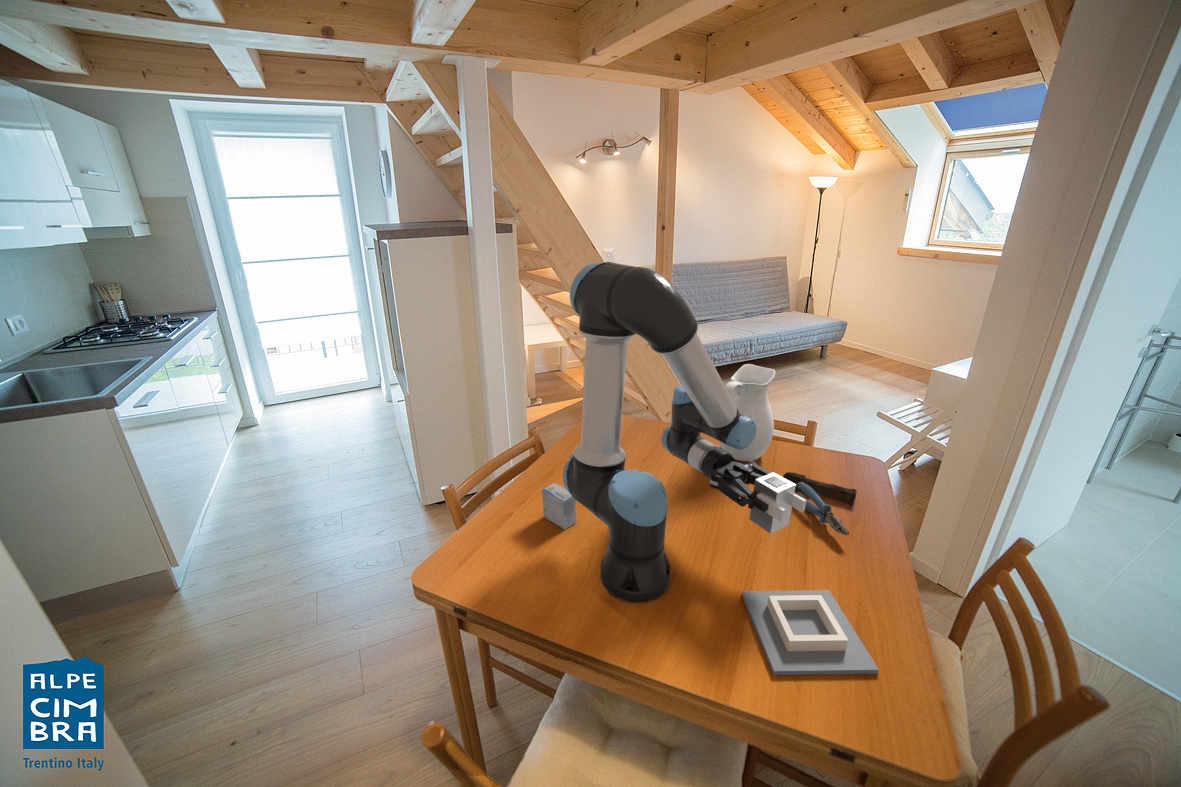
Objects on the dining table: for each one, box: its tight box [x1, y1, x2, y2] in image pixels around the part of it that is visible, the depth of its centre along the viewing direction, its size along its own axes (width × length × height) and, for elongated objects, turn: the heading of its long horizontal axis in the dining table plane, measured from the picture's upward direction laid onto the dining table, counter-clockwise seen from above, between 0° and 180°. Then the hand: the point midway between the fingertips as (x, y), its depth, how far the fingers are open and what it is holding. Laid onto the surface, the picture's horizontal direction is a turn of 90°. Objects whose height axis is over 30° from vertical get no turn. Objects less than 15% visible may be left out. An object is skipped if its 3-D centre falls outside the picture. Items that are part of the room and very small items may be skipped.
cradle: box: [741, 589, 880, 676], centre depth 89 cm, size 18×18×4 cm
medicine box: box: [541, 483, 577, 530], centre depth 120 cm, size 8×4×9 cm, turn 47°
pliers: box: [795, 482, 850, 536], centre depth 120 cm, size 20×2×6 cm, turn 10°
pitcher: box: [718, 363, 777, 462], centre depth 146 cm, size 24×17×28 cm
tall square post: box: [749, 472, 796, 534], centre depth 100 cm, size 6×6×10 cm
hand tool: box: [781, 471, 857, 506], centre depth 132 cm, size 19×4×5 cm, turn 58°
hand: (793, 510), depth 95 cm, fingers closed on tall square post, 6 cm apart
